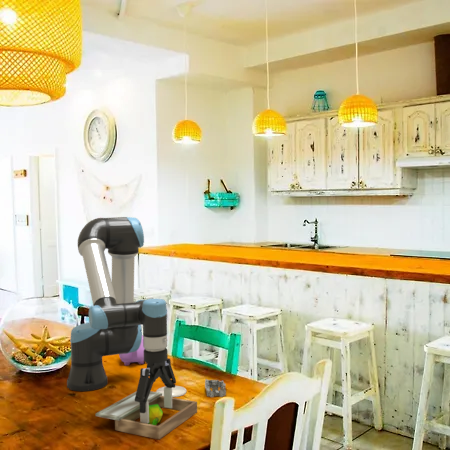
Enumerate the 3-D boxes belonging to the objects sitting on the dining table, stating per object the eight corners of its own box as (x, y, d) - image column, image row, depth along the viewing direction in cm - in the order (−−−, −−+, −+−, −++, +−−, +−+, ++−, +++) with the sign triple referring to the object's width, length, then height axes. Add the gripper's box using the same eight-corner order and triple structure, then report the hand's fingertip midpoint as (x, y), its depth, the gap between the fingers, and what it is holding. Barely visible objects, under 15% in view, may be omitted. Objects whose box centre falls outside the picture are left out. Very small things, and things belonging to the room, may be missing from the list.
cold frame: (95, 427, 170) (95, 413, 170) (140, 401, 192) (140, 389, 192) (158, 440, 160) (158, 425, 160) (197, 411, 182) (197, 398, 182)
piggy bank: (150, 367, 233) (149, 337, 232) (120, 369, 230) (119, 339, 229) (145, 354, 252) (145, 327, 252) (118, 356, 249) (117, 329, 249)
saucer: (150, 394, 199) (150, 393, 198) (166, 385, 208) (166, 384, 208) (176, 399, 194) (176, 397, 194) (191, 389, 204) (191, 388, 204)
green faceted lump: (148, 396, 176) (158, 405, 168) (162, 406, 178) (172, 415, 170) (134, 416, 174) (143, 425, 166) (149, 426, 176) (159, 436, 168)
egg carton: (226, 397, 196) (226, 386, 195) (205, 398, 195) (205, 387, 195) (225, 387, 206) (224, 376, 206) (205, 388, 206) (205, 377, 206)
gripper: (142, 359, 160) (144, 431, 161) (185, 340, 183) (186, 403, 184) (121, 357, 164) (123, 427, 164) (166, 338, 186) (167, 400, 187)
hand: (156, 414), depth 174 cm, fingers open, 13 cm apart
